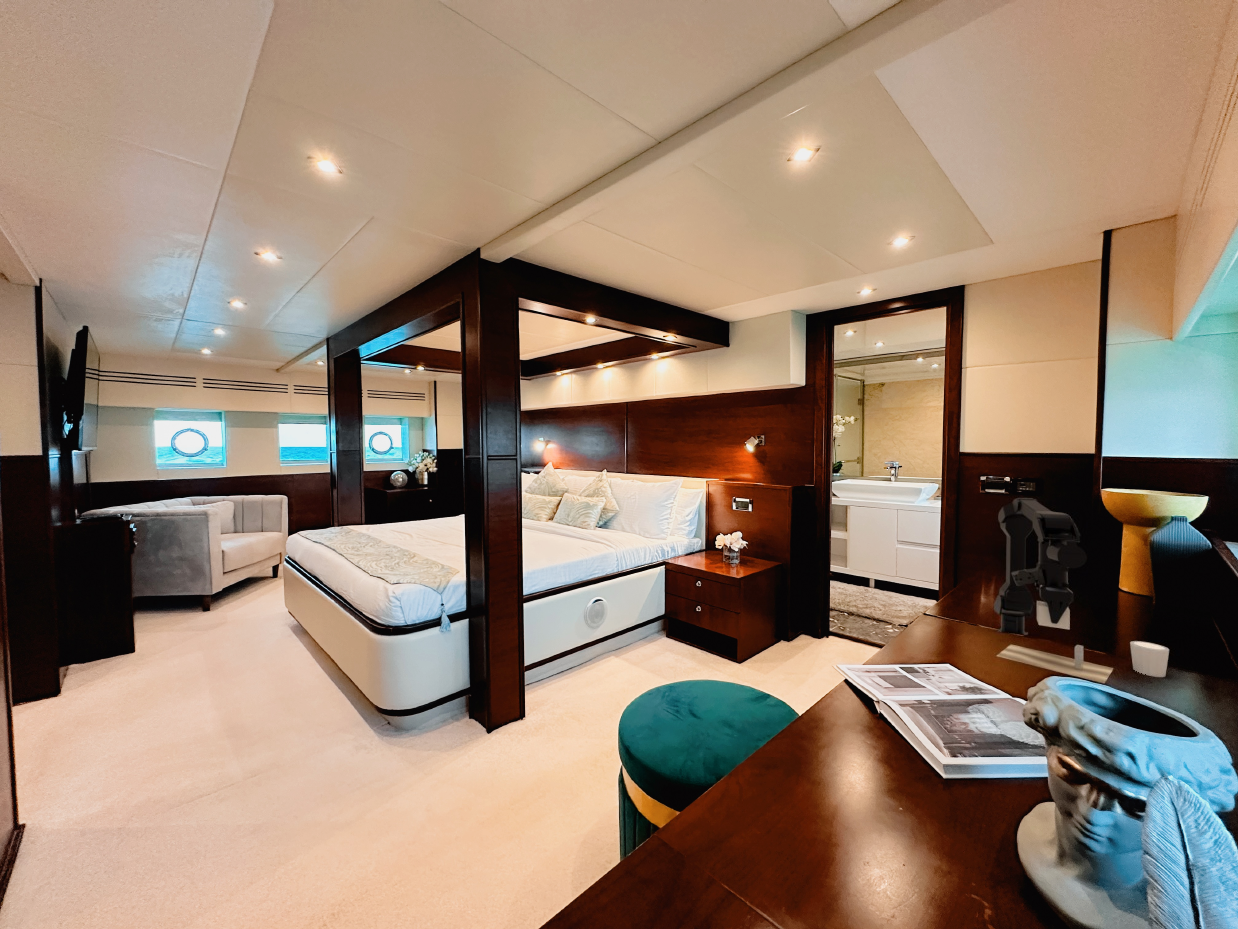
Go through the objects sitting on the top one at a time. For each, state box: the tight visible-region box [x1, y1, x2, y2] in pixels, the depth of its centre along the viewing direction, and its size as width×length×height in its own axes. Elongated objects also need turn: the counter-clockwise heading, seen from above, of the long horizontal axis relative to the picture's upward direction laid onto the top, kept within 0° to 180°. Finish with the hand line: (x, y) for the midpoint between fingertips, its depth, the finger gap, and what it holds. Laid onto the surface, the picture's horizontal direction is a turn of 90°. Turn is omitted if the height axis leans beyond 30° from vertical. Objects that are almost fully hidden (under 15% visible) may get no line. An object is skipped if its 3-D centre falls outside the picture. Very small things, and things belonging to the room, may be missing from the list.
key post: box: [1074, 644, 1084, 670], centre depth 125 cm, size 3×1×6 cm, turn 128°
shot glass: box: [1129, 640, 1170, 678], centre depth 126 cm, size 7×7×7 cm
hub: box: [1036, 600, 1071, 630], centre depth 129 cm, size 6×6×5 cm
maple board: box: [996, 644, 1114, 684], centre depth 129 cm, size 14×21×2 cm, turn 38°
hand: (1052, 620), depth 129 cm, fingers closed on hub, 6 cm apart
